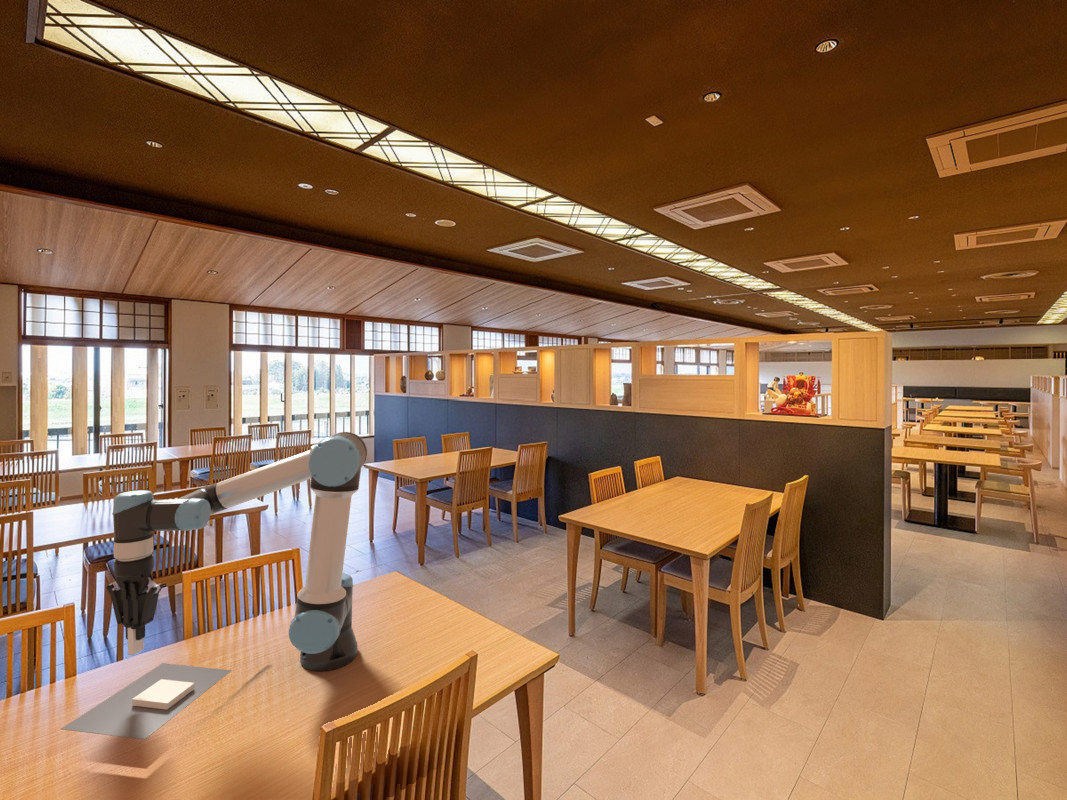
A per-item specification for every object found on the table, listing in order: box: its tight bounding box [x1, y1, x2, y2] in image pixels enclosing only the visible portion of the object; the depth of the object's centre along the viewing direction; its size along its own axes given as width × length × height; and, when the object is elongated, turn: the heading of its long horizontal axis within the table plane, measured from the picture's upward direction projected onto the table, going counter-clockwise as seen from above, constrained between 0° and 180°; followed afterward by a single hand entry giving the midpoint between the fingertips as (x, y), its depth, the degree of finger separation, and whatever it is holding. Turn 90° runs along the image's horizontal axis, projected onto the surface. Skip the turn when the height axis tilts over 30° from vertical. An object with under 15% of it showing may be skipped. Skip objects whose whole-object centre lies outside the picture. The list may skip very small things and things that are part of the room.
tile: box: [132, 679, 195, 710], centre depth 120 cm, size 2×8×9 cm
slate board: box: [60, 662, 233, 740], centre depth 120 cm, size 20×26×1 cm
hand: (135, 651), depth 122 cm, fingers closed
